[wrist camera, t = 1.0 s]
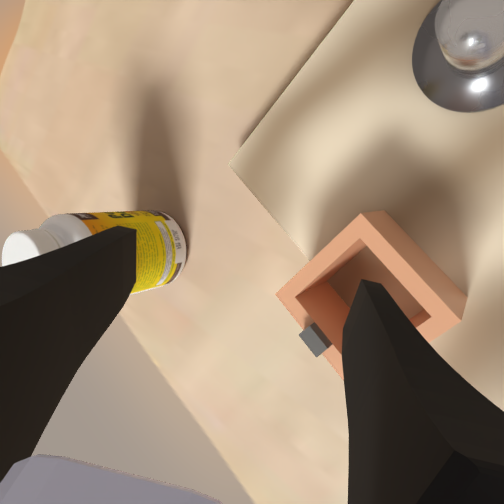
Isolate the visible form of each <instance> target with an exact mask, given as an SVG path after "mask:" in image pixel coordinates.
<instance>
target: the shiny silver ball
mask: <svg viewBox="0 0 504 504" xmlns="http://www.w3.org/2000/svg"><path fill="white" fill-rule="evenodd" d="M412 68H413V73H414V77H415V80H416V82H417V84H418V86H419V88H420V89H421V91H422V92H423V93H424V95H425V96H426V97H427V98H428V99H429V100H431V101H432V102H433V103H434V104H436V105H438V106H440V107H442V108H444V109H447V110H450V111H454V112H461V113H475V112H482V111H487V110H490V109H494V108H496V107H499V106H502V105H504V0H440V1H439V2H438V3H437V4H436V6H435V7H434V8H433V9H432V10H431V11H430V13H429V14H428V15H427V17H426V18H425V20H424V21H423V23H422V25H421V27H420V29H419V31H418V33H417V36H416V39H415V42H414V46H413V52H412Z"/></svg>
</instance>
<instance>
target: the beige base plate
mask: <svg viewBox="0 0 504 504" xmlns="http://www.w3.org/2000/svg"><path fill="white" fill-rule="evenodd" d="M439 1H440V0H354V1H353V2H352V4H351V5H350V6H349V7H348V9H347V10H346V11H345V13H344V14H343V15H342V17H341V18H340V19H339V20H338V22H337V23H336V24H335V26H334V27H333V28H332V30H331V31H330V32H329V33H328V35H327V36H326V37H325V39H324V40H323V41H322V43H321V44H320V45H319V46H318V48H317V49H316V50H315V52H314V53H313V54H312V55H311V57H310V58H309V59H308V61H307V62H306V63H305V65H304V66H303V67H302V68H301V70H300V71H299V72H298V74H297V75H296V76H295V78H294V79H293V80H292V81H291V83H290V84H289V85H288V87H287V88H286V89H285V91H284V92H283V93H282V94H281V96H280V97H279V98H278V100H277V101H276V102H275V104H274V105H273V106H272V107H271V109H270V110H269V111H268V113H267V114H266V115H265V117H264V118H263V119H262V120H261V122H260V123H259V124H258V126H257V127H256V128H255V130H254V131H253V132H252V133H251V135H250V136H249V137H248V139H247V140H246V141H245V143H244V144H243V145H242V146H241V148H240V149H239V150H238V152H237V153H236V154H235V156H234V157H233V158H232V159H231V161H230V162H229V163H228V165H229V166H230V167H231V169H232V170H233V171H234V172H235V173H236V175H237V176H238V177H239V178H240V179H241V180H242V182H243V183H244V184H245V185H246V186H247V188H248V189H249V190H250V191H251V192H252V193H253V195H254V196H255V197H256V198H257V199H258V201H259V202H260V203H261V204H262V205H263V206H264V208H265V209H266V210H267V211H268V212H269V213H270V215H271V216H272V217H273V218H274V219H275V221H276V222H277V223H278V224H279V225H280V226H281V228H282V229H283V230H284V231H285V232H286V234H287V235H288V236H289V237H290V238H291V239H292V241H293V242H294V243H295V244H296V245H297V247H298V248H299V249H300V250H301V251H302V252H303V254H304V255H305V256H306V257H307V258H308V260H309V261H311V260H312V259H313V258H314V257H315V256H316V255H317V254H318V253H319V252H320V251H321V250H322V249H323V248H324V247H326V246H327V245H328V244H329V243H330V242H331V241H332V240H333V239H334V238H335V237H336V236H337V235H338V234H339V233H340V232H341V231H342V230H343V229H345V228H346V227H347V226H348V225H349V224H350V223H351V222H352V221H353V220H354V219H355V218H356V217H357V216H358V215H359V214H360V213H366V212H374V211H382V210H385V211H386V212H387V214H388V215H389V216H390V217H391V218H392V219H393V220H394V221H395V222H396V223H397V224H398V225H399V226H400V227H401V228H402V229H403V230H404V231H405V232H406V233H407V234H408V235H409V237H410V238H411V239H412V240H413V241H414V242H415V243H416V244H417V245H418V246H419V247H420V248H421V249H422V250H423V251H424V252H425V253H426V254H427V255H428V256H429V257H430V259H431V260H432V261H433V262H434V263H435V264H436V265H437V266H438V267H439V268H440V269H441V270H442V271H443V272H444V273H445V274H446V275H447V276H448V277H449V278H450V279H451V281H452V282H453V283H454V284H455V285H456V286H457V287H458V288H459V289H460V290H461V291H462V292H463V293H464V294H465V295H466V296H467V297H468V298H467V302H466V306H465V309H464V313H463V317H462V321H461V322H459V323H458V324H456V325H455V326H453V327H452V328H450V329H449V330H447V331H446V332H444V333H443V334H441V335H440V336H438V337H437V338H435V339H434V340H432V341H431V342H429V344H430V345H431V346H432V347H433V348H434V349H435V351H436V352H437V353H438V354H439V355H440V356H441V357H442V358H443V359H444V360H445V361H446V362H447V363H448V364H449V365H450V366H451V367H452V368H453V369H454V370H455V371H456V372H458V373H459V374H460V375H461V376H462V377H463V378H464V379H465V380H466V381H467V382H468V383H470V384H471V385H472V386H473V387H474V388H475V389H476V390H478V391H479V392H480V393H481V394H483V395H484V396H485V397H486V398H487V399H489V400H490V401H491V402H492V403H494V404H495V405H496V406H497V407H499V408H500V409H501V410H503V411H504V105H502V106H499V107H496V108H494V109H490V110H487V111H482V112H475V113H461V112H454V111H450V110H447V109H444V108H442V107H440V106H438V105H436V104H434V103H433V102H432V101H431V100H429V99H428V98H427V97H426V96H425V95H424V93H423V92H422V91H421V89H420V88H419V86H418V84H417V82H416V80H415V77H414V73H413V68H412V52H413V46H414V42H415V39H416V36H417V33H418V31H419V29H420V27H421V25H422V23H423V21H424V20H425V18H426V17H427V15H428V14H429V13H430V11H431V10H432V9H433V8H434V7H435V6H436V4H437V3H438V2H439ZM361 279H364V280H368V281H373V282H377V283H381V284H382V285H383V286H384V288H385V289H386V290H387V291H388V293H389V294H390V295H391V297H392V298H393V299H394V301H395V302H396V303H397V305H398V306H399V307H400V309H401V310H402V311H403V313H404V314H405V315H406V316H407V318H408V319H410V318H412V317H413V316H415V315H416V314H417V313H419V312H420V311H421V310H423V309H424V308H423V307H422V306H421V305H420V303H419V302H418V301H417V300H416V299H415V298H414V297H413V296H412V295H411V294H410V292H409V291H408V290H407V289H406V288H405V287H404V286H403V285H402V284H401V283H400V281H399V280H398V279H397V278H396V277H395V276H394V275H393V274H392V273H391V272H390V270H389V269H388V268H387V267H386V266H385V265H384V264H383V263H382V262H381V261H380V259H379V258H378V257H377V256H376V255H375V254H374V253H373V252H372V251H371V250H370V248H369V247H368V246H366V247H364V248H363V249H362V250H361V251H360V252H359V253H358V254H357V255H355V256H354V257H353V258H352V259H351V260H350V261H349V262H348V263H346V264H345V265H344V266H343V267H342V268H341V269H340V270H339V271H337V272H336V273H335V274H334V275H333V276H332V277H331V278H329V279H328V280H327V282H328V283H329V284H330V286H331V287H332V288H333V289H334V290H335V291H336V293H337V294H338V295H339V296H340V297H341V299H342V300H343V301H344V302H345V303H346V304H347V306H348V307H349V308H351V305H352V303H353V300H354V297H355V295H356V292H357V289H358V286H359V284H360V281H361Z"/></svg>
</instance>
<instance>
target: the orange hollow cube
mask: <svg viewBox="0 0 504 504" xmlns="http://www.w3.org/2000/svg"><path fill="white" fill-rule="evenodd" d="M366 246H368V247H369V248H370V250H371V251H372V252H373V253H374V254H375V255H376V256H377V257H378V258H379V259H380V261H381V262H382V263H383V264H384V265H385V266H386V267H387V268H388V269H389V270H390V272H391V273H392V274H393V275H394V276H395V277H396V278H397V279H398V280H399V281H400V283H401V284H402V285H403V286H404V287H405V288H406V289H407V290H408V291H409V292H410V294H411V295H412V296H413V297H414V298H415V299H416V300H417V301H418V302H419V303H420V305H421V306H422V307H423V308H424V309H423V310H421V311H420V312H419V313H417V314H416V315H415V316H413V317H412V318H410V319H409V320H410V321H411V323H412V324H413V325H414V326H415V328H416V329H417V330H418V331H419V332H420V334H421V335H422V336H423V337H424V338H425V339H426V341H427V342H428V343H429V342H431V341H432V340H434V339H435V338H437V337H438V336H440V335H441V334H443V333H444V332H446V331H447V330H449V329H450V328H452V327H453V326H455V325H456V324H458V323H459V322H461V321H462V317H463V313H464V309H465V306H466V302H467V298H468V297H467V296H466V295H465V294H464V293H463V292H462V291H461V290H460V289H459V288H458V287H457V286H456V285H455V284H454V283H453V282H452V281H451V279H450V278H449V277H448V276H447V275H446V274H445V273H444V272H443V271H442V270H441V269H440V268H439V267H438V266H437V265H436V264H435V263H434V262H433V261H432V260H431V259H430V257H429V256H428V255H427V254H426V253H425V252H424V251H423V250H422V249H421V248H420V247H419V246H418V245H417V244H416V243H415V242H414V241H413V240H412V239H411V238H410V237H409V235H408V234H407V233H406V232H405V231H404V230H403V229H402V228H401V227H400V226H399V225H398V224H397V223H396V222H395V221H394V220H393V219H392V218H391V217H390V216H389V215H388V214H387V212H386V211H385V210H382V211H374V212H366V213H360V214H359V215H358V216H357V217H356V218H355V219H354V220H353V221H352V222H351V223H350V224H349V225H348V226H347V227H346V228H345V229H343V230H342V231H341V232H340V233H339V234H338V235H337V236H336V237H335V238H334V239H333V240H332V241H331V242H330V243H329V244H328V245H327V246H326V247H324V248H323V249H322V250H321V251H320V252H319V253H318V254H317V255H316V256H315V257H314V258H313V259H312V260H311V261H310V262H309V263H308V264H307V265H305V266H304V267H303V268H302V269H301V270H300V271H299V272H298V273H297V274H296V275H295V276H294V277H293V278H292V279H291V280H290V281H289V282H288V283H286V284H285V285H284V286H283V287H282V288H281V289H280V290H279V291H278V292H277V293H276V294H275V295H276V296H277V297H278V298H279V300H280V301H281V302H282V303H283V305H284V306H285V307H286V309H287V310H288V311H289V312H290V314H291V315H292V316H293V317H294V319H295V320H296V321H297V322H298V324H299V325H300V326H301V327H302V329H303V330H304V331H302V332H301V333H300V334H299V336H300V337H301V339H302V340H303V341H304V342H305V344H306V345H307V346H308V347H309V349H310V350H311V351H312V353H313V354H314V355H315V356H316V357H318V356H319V355H320V354H321V353H322V354H323V355H324V356H325V358H326V359H327V360H328V362H329V363H330V364H331V365H332V367H333V368H334V369H335V370H336V372H337V373H338V374H339V375H340V377H341V378H342V379H343V380H344V376H343V366H342V336H343V327H344V324H345V321H346V319H347V316H348V313H349V311H350V308H349V307H348V306H347V304H346V303H345V302H344V301H343V300H342V299H341V297H340V296H339V295H338V294H337V293H336V292H335V290H334V289H333V288H332V287H331V286H330V284H329V283H328V282H327V280H328V279H329V278H331V277H332V276H333V275H334V274H335V273H336V272H337V271H339V270H340V269H341V268H342V267H343V266H344V265H345V264H346V263H348V262H349V261H350V260H351V259H352V258H353V257H354V256H355V255H357V254H358V253H359V252H360V251H361V250H362V249H363V248H364V247H366Z"/></svg>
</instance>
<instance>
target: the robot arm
mask: <svg viewBox="0 0 504 504" xmlns="http://www.w3.org/2000/svg"><path fill="white" fill-rule="evenodd" d="M136 245H137V229H132V228H128V227H123V226H119V225H118V226H115V227H112V228H109V229H106V230H104V231H101V232H99V233H96V234H94V235H91V236H89V237H86V238H84V239H81V240H79V241H76V242H74V243H72V244H69V245H67V246H64V247H61V248H58V249H56V250H53V251H50V252H47V253H44V254H42V255H39V256H36V257H33V258H30V259H27V260H24V261H20V262H17V263H14V264H10V265H6V266H2V267H0V504H223V503H222V502H221V501H219V500H217V499H214V498H212V497H210V496H208V495H205V494H202V493H200V492H198V491H195V490H193V489H189V488H185V487H181V486H177V485H173V484H170V483H166V482H162V481H158V480H154V479H150V478H146V477H142V476H138V475H134V474H130V473H126V472H122V471H119V470H115V469H110V468H106V467H103V466H99V465H95V464H91V463H87V462H83V461H79V460H75V459H71V458H67V457H62V456H51V455H41V454H38V455H35V456H31V455H32V453H33V451H34V449H35V447H36V445H37V443H38V441H39V439H40V437H41V435H42V433H43V431H44V429H45V427H46V425H47V424H48V422H49V420H50V418H51V416H52V414H53V413H54V411H55V409H56V407H57V405H58V403H59V402H60V400H61V398H62V396H63V394H64V393H65V391H66V389H67V387H68V386H69V384H70V382H71V381H72V379H73V377H74V375H75V374H76V372H77V370H78V368H79V367H80V366H81V364H82V363H83V361H84V360H85V358H86V357H87V355H88V354H89V353H90V351H91V350H92V348H93V347H94V346H95V345H96V343H97V342H98V340H99V339H100V338H101V336H102V335H103V334H104V332H105V331H106V330H107V328H108V327H109V326H110V324H111V323H112V321H113V320H114V319H115V317H116V316H117V314H118V313H119V312H120V310H121V309H122V307H123V306H124V304H125V302H126V300H127V299H128V297H129V295H130V293H131V291H132V289H133V287H134V285H135V283H136ZM342 366H343V376H344V386H345V396H346V406H347V416H348V429H349V477H348V504H504V411H503V410H501V409H500V408H499V407H497V406H496V405H495V404H494V403H492V402H491V401H490V400H489V399H487V398H486V397H485V396H484V395H483V394H481V393H480V392H479V391H478V390H476V389H475V388H474V387H473V386H472V385H471V384H470V383H468V382H467V381H466V380H465V379H464V378H463V377H462V376H461V375H460V374H459V373H458V372H456V371H455V370H454V369H453V368H452V367H451V366H450V365H449V364H448V363H447V362H446V361H445V360H444V359H443V358H442V357H441V356H440V355H439V354H438V353H437V352H436V351H435V349H434V348H433V347H432V346H431V345H430V344H429V343H428V342H427V341H426V339H425V338H424V337H423V336H422V335H421V334H420V332H419V331H418V330H417V329H416V328H415V326H414V325H413V324H412V323H411V321H410V320H409V319H408V318H407V316H406V315H405V314H404V313H403V311H402V310H401V309H400V307H399V306H398V305H397V303H396V302H395V301H394V299H393V298H392V297H391V295H390V294H389V293H388V291H387V290H386V289H385V288H384V286H383V285H382V284H381V283H377V282H373V281H368V280H364V279H361V281H360V284H359V286H358V289H357V292H356V295H355V297H354V300H353V303H352V305H351V308H350V311H349V313H348V316H347V319H346V321H345V324H344V327H343V336H342Z"/></svg>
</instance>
